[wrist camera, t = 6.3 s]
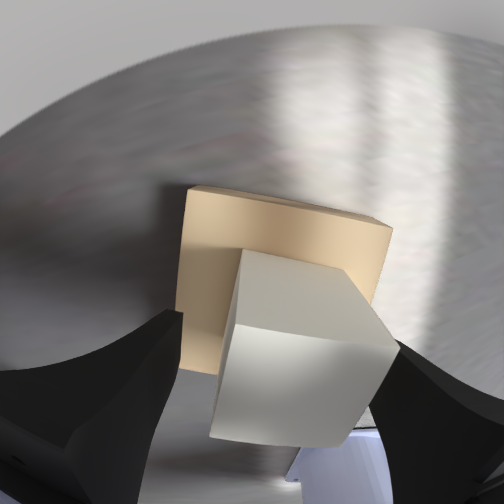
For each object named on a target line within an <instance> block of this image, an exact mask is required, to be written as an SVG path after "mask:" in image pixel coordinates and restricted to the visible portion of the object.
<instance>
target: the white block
mask: <svg viewBox="0 0 504 504" xmlns="http://www.w3.org/2000/svg"><path fill="white" fill-rule="evenodd" d="M399 350H400V346H399V345H398V343H397V342H396V341H395V339H394V338H393V336H392V335H391V333H390V332H389V331H388V329H387V328H386V326H385V325H384V324H383V322H382V321H381V319H380V318H379V317H378V315H377V314H376V313H375V311H374V310H373V308H372V307H371V306H370V304H369V303H368V302H367V300H366V299H365V298H364V296H363V295H362V294H361V292H360V291H359V290H358V288H357V287H356V286H355V284H354V283H353V282H352V280H351V279H350V278H349V276H348V275H347V274H346V272H345V271H344V270H341V269H336V268H332V267H327V266H322V265H317V264H313V263H308V262H303V261H299V260H294V259H289V258H284V257H280V256H275V255H270V254H265V253H261V252H256V251H251V250H247V249H243V250H242V255H241V259H240V264H239V268H238V273H237V277H236V282H235V287H234V291H233V296H232V300H231V305H230V310H229V314H228V319H227V324H226V328H225V333H224V337H223V344H222V351H221V357H220V364H219V371H218V378H217V385H216V392H215V399H214V406H213V413H212V420H211V427H210V435H209V437H213V438H219V439H225V440H231V441H238V442H246V443H254V444H263V445H274V446H287V447H307V448H340V447H341V446H342V444H343V443H344V441H345V440H346V439H347V437H348V436H349V434H350V433H351V431H352V430H353V428H354V427H355V425H356V424H357V422H358V421H359V419H360V418H361V416H362V415H363V413H364V412H365V410H366V408H367V407H368V405H369V403H370V402H371V400H372V399H373V397H374V395H375V394H376V392H377V390H378V388H379V387H380V385H381V383H382V381H383V380H384V378H385V376H386V374H387V372H388V371H389V369H390V367H391V365H392V363H393V361H394V359H395V357H396V355H397V354H398V352H399Z"/></svg>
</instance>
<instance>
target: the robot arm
mask: <svg viewBox="0 0 504 504" xmlns="http://www.w3.org/2000/svg"><path fill="white" fill-rule="evenodd" d="M183 314H184V312H178V311H173V310H168V309H166V310H164V311H163V312H161V313H160V314H158V315H157V316H155V317H154V318H152V319H151V320H149V321H148V322H147V323H145V324H144V325H142V326H140V327H139V328H137V329H136V330H134V331H133V332H131V333H129V334H127V335H126V336H124V337H122V338H120V339H118V340H117V341H115V342H113V343H111V344H109V345H107V346H105V347H103V348H100V349H98V350H96V351H93V352H91V353H88V354H86V355H83V356H80V357H77V358H73V359H70V360H67V361H63V362H60V363H56V364H52V365H47V366H42V367H36V368H30V369H22V370H7V371H0V504H137V502H138V497H139V492H140V487H141V482H142V477H143V473H144V469H145V464H146V460H147V456H148V452H149V449H150V445H151V441H152V438H153V435H154V432H155V429H156V427H157V424H158V422H159V419H160V417H161V414H162V412H163V409H164V407H165V404H166V402H167V400H168V397H169V395H170V392H171V390H172V387H173V385H174V382H175V379H176V375H177V371H178V367H179V364H180V360H181V343H182V327H183ZM395 341H396V342H397V343H398V345H399V346H400V350H399V352H398V354H397V355H396V357H395V359H394V361H393V363H392V365H391V367H390V369H389V371H388V372H387V374H386V376H385V378H384V380H383V381H382V383H381V385H380V387H379V388H378V390H377V392H376V394H375V395H374V397H373V399H372V400H371V402H370V403H369V405H368V406H369V408H370V411H371V414H372V416H373V419H374V422H375V424H376V427H377V429H358V430H352V431H351V433H350V434H349V436H348V437H347V439H346V440H345V441H344V443H343V444H342V446H341V447H340V448H307V447H301V448H300V450H299V452H298V454H297V456H296V458H295V460H294V462H293V464H292V466H291V467H290V469H289V471H288V473H287V475H286V477H285V481H287V482H301V488H302V496H303V504H504V400H502V399H499V398H496V397H493V396H491V395H488V394H486V393H483V392H481V391H479V390H477V389H475V388H473V387H471V386H469V385H467V384H465V383H463V382H461V381H459V380H458V379H456V378H454V377H453V376H451V375H449V374H448V373H446V372H445V371H443V370H442V369H440V368H439V367H437V366H436V365H434V364H433V363H431V362H430V361H428V360H427V359H425V358H424V357H422V356H421V355H420V354H418V353H417V352H415V351H414V350H412V349H411V348H409V347H408V346H406V345H405V344H403V343H401V342H400V341H398V340H396V339H395Z"/></svg>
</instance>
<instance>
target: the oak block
mask: <svg viewBox="0 0 504 504" xmlns="http://www.w3.org/2000/svg"><path fill="white" fill-rule="evenodd" d="M392 232H393V228H392V227H390V226H388V225H386V224H384V223H382V222H380V221H378V220H377V219H375V218H372V217H368V216H363V215H359V214H355V213H350V212H345V211H341V210H336V209H332V208H327V207H322V206H317V205H312V204H307V203H302V202H297V201H292V200H287V199H281V198H276V197H271V196H265V195H259V194H254V193H248V192H242V191H236V190H230V189H223V188H217V187H211V186H204V185H197V186H195V187H192V188H190V189H188V192H187V199H186V207H185V215H184V223H183V231H182V240H181V249H180V259H179V269H178V280H177V292H176V305H175V311H178V312H184V314H183V327H182V343H181V360H180V364H179V367H178V368H183V369H188V370H193V371H198V372H203V373H209V374H215V375H218V371H219V364H220V357H221V351H222V344H223V337H224V333H225V328H226V324H227V319H228V314H229V310H230V305H231V300H232V296H233V291H234V287H235V282H236V277H237V273H238V268H239V264H240V259H241V255H242V250H243V249H247V250H251V251H256V252H261V253H265V254H270V255H275V256H280V257H284V258H289V259H294V260H299V261H303V262H308V263H313V264H317V265H322V266H327V267H332V268H336V269H341V270H344V271H345V272H346V274H347V275H348V276H349V278H350V279H351V280H352V282H353V283H354V284H355V286H356V287H357V288H358V290H359V291H360V292H361V294H362V295H363V296H364V298H365V299H366V300H367V302H368V303H369V304H370V305H371V302H372V299H373V296H374V293H375V290H376V287H377V284H378V281H379V277H380V274H381V271H382V268H383V264H384V261H385V257H386V254H387V250H388V247H389V243H390V239H391V236H392Z"/></svg>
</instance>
